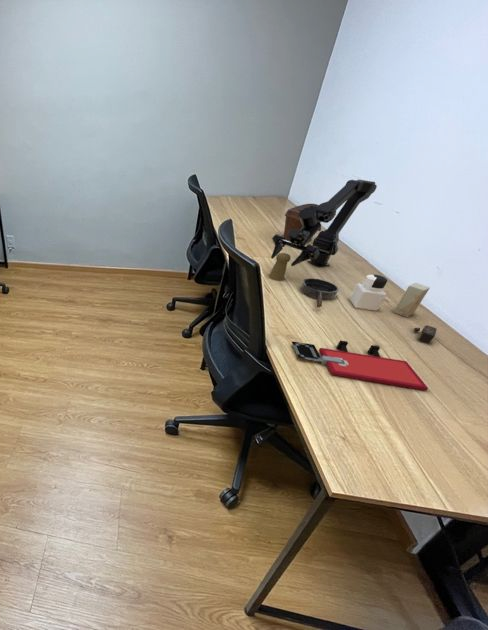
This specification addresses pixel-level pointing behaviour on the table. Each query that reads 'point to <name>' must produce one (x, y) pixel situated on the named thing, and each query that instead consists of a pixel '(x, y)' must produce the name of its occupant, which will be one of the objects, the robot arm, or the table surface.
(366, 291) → the medicine bottle
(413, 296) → the box
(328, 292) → the pan
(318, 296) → the pan handle
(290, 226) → the case
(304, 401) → the table surface
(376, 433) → the table surface
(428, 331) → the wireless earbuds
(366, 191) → the robot arm
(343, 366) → the red board with handle
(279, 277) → the cork
